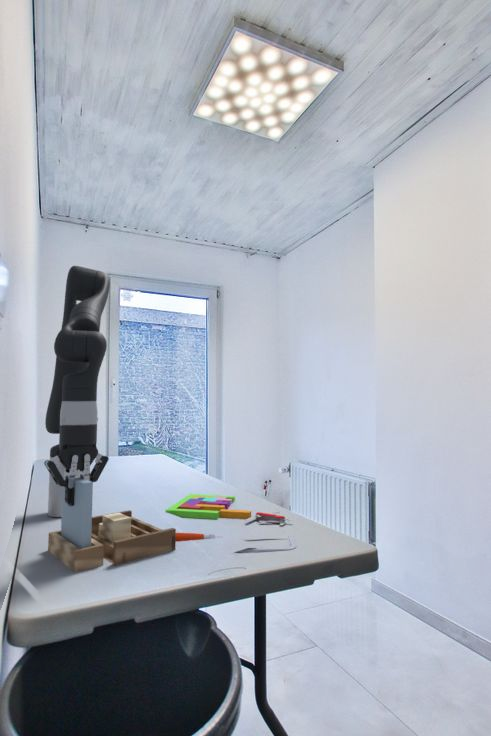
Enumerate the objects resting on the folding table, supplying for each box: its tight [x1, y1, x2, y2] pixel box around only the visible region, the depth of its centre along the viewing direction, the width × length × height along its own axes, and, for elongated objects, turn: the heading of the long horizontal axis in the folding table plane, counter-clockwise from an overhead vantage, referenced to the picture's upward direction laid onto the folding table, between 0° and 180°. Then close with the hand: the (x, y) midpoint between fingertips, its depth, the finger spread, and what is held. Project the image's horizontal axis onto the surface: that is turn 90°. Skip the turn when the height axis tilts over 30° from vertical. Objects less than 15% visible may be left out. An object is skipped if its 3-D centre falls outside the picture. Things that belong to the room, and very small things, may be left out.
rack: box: [91, 509, 177, 566], centre depth 99 cm, size 22×14×6 cm, turn 42°
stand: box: [47, 529, 104, 573], centre depth 90 cm, size 16×7×5 cm, turn 42°
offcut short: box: [102, 512, 131, 531], centre depth 97 cm, size 6×4×2 cm, turn 42°
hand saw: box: [176, 532, 297, 554], centre depth 101 cm, size 33×3×10 cm
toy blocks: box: [165, 493, 252, 520], centre depth 136 cm, size 23×2×25 cm
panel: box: [60, 475, 94, 549], centre depth 91 cm, size 12×2×14 cm, turn 42°
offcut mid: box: [99, 523, 131, 542], centre depth 98 cm, size 8×4×2 cm, turn 42°
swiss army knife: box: [244, 511, 293, 526], centre depth 121 cm, size 12×14×2 cm
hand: (76, 504), depth 91 cm, fingers closed on panel, 2 cm apart
